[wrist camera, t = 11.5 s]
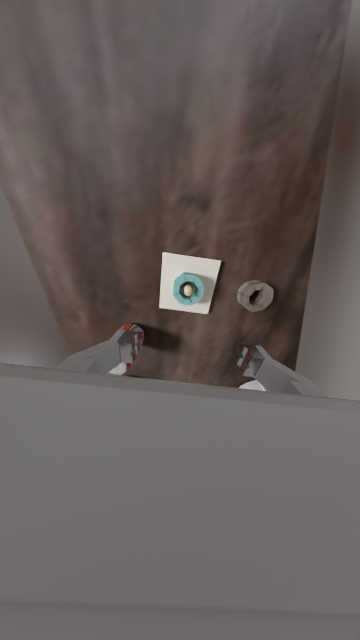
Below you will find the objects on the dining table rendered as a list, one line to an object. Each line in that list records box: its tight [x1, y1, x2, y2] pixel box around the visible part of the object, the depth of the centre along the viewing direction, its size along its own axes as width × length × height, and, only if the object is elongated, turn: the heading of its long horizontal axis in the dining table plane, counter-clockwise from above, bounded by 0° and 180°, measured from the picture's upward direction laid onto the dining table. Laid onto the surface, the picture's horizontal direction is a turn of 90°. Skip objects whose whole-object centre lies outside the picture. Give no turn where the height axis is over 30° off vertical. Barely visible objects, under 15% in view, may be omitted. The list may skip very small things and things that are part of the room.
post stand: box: [159, 252, 221, 314], centre depth 27 cm, size 12×12×6 cm
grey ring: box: [237, 280, 274, 312], centre depth 29 cm, size 6×6×4 cm
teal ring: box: [173, 272, 204, 305], centre depth 27 cm, size 6×6×4 cm
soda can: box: [107, 324, 144, 375], centre depth 30 cm, size 7×7×12 cm
